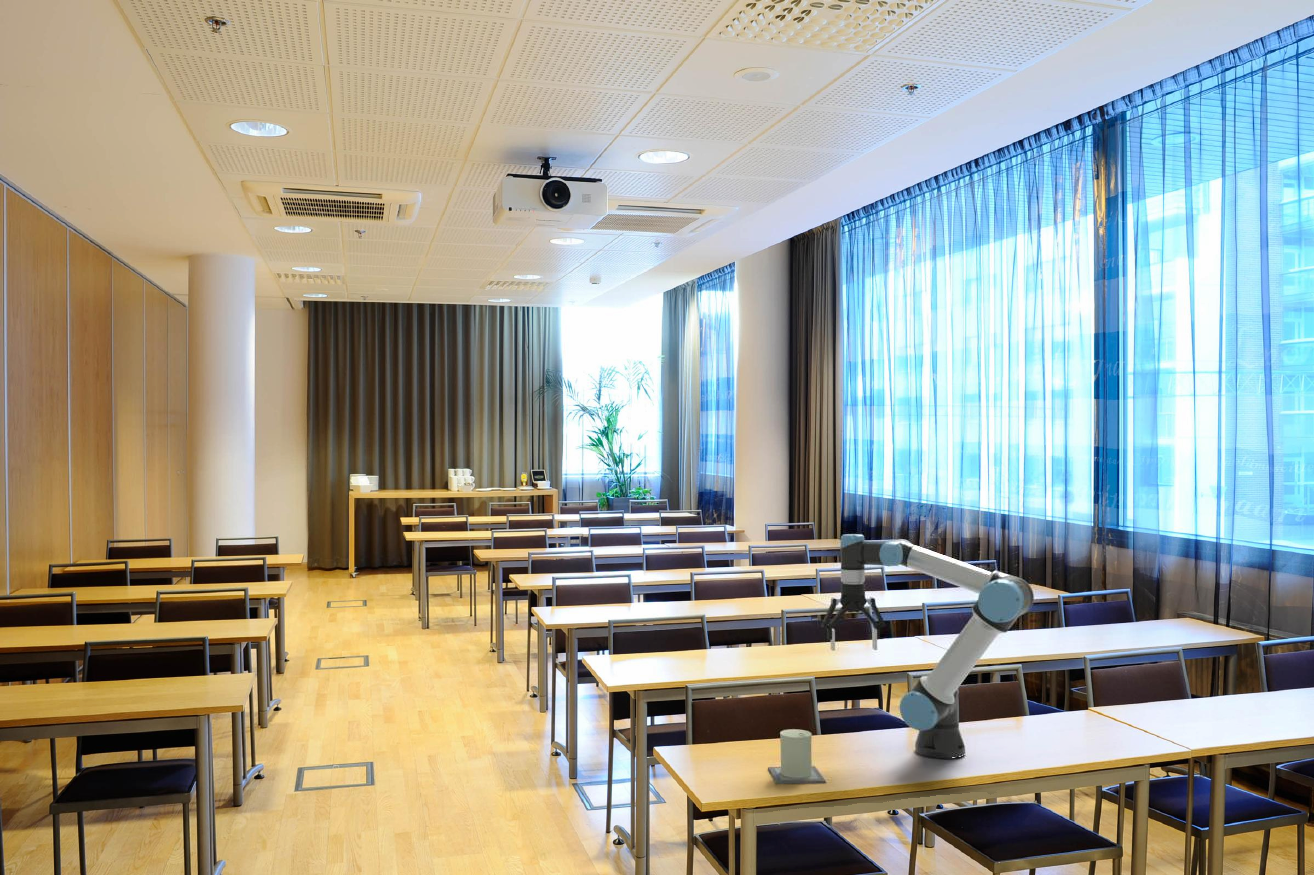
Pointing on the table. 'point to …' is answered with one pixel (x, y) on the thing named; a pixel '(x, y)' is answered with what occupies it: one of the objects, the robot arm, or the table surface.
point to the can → (796, 753)
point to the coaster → (781, 779)
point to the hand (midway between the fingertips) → (853, 649)
